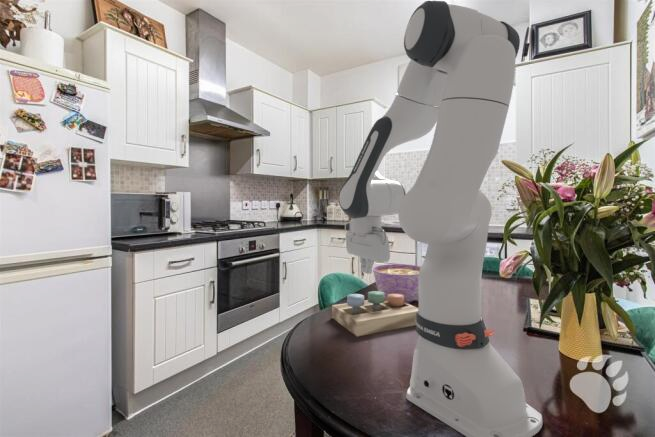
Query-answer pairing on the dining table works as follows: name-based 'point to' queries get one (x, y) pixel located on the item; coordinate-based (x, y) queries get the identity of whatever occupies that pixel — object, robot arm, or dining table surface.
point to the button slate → (355, 302)
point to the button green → (376, 299)
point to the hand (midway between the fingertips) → (366, 272)
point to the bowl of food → (398, 280)
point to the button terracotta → (395, 300)
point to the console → (374, 317)
